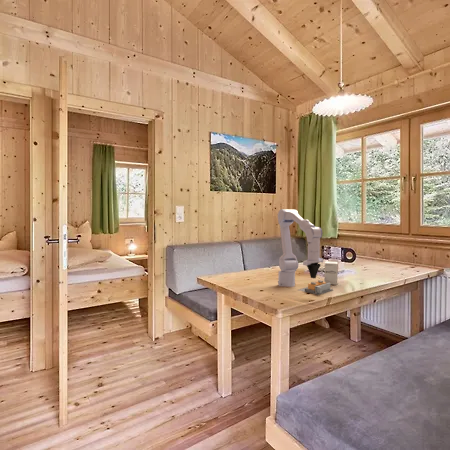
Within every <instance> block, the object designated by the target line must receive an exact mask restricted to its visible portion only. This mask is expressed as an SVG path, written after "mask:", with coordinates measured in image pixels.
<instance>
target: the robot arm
mask: <svg viewBox="0 0 450 450" xmlns="http://www.w3.org/2000/svg"><path fill="white" fill-rule="evenodd" d="M298 211H299V210H297V209H294V208H293V209H291V208H289V209H287V208H286V209H285V208H284V209H283V208H280V209H279V211H278V212H277V221H278V225H279V230H280V238H281V247H282V254H281V256H279V258H278V259H279V260H278V261H279V263H278V267H279V270H278V279H277V280H278V281H277V283H278V285H277V286H278V287H288V288H289V287H290V288H293V287H295V286H296V272H297V270H298V269H299V264H300V263H299V261H298V259H297V256H296V255H295V254H294V253H293V248H292V247H293V246H292V240H291V239H292V238H291V231H290V226H291V225H292V224H293V223H294V222H295V223H296V224H298V227H299V229H300V230H301V231H302V232H304V234H305V237H306V242H307V259H306V260H303V261H302V263H303V264H302V265H303V266H306V267H307V269H308V271H309V276H310V278H311V279H316V278H317V275H318V273H319V269H320V267H321V263H324V258H322V257H320V256H321V255H320V254H321V253H320V251H321V250H320V249H321V248H320V246H321V238H322V237H323V233H324V232H323V229H322V228H321V226H315V224H313V223H312V222H310V220H309V219H304V218H303V217H302V216H301V215H300V214H299V212H298Z"/></svg>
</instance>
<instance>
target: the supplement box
mask: <svg viewBox="0 0 450 450" xmlns="http://www.w3.org/2000/svg"><path fill="white" fill-rule="evenodd" d="M338 266H339V261H324V274H323V275H324V279H323V282H326V284H327V283H331V284H330V285H331V286H332V285H335V286H337V285H338V271H339V270H338V268H339V267H338Z"/></svg>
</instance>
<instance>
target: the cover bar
mask: <svg viewBox="0 0 450 450" xmlns="http://www.w3.org/2000/svg"><path fill="white" fill-rule="evenodd" d="M331 285H332V284H331V283H327V284H323V285H320V286H315V292H316V294H317V293H322V292H324V291H327V290H330V289H331ZM316 294H315V295H316Z"/></svg>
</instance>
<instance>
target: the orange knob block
mask: <svg viewBox="0 0 450 450" xmlns="http://www.w3.org/2000/svg"><path fill="white" fill-rule="evenodd" d="M315 283H316V284H319V286H320V285H323V284H326V282H324V280H317V281H315Z"/></svg>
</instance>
